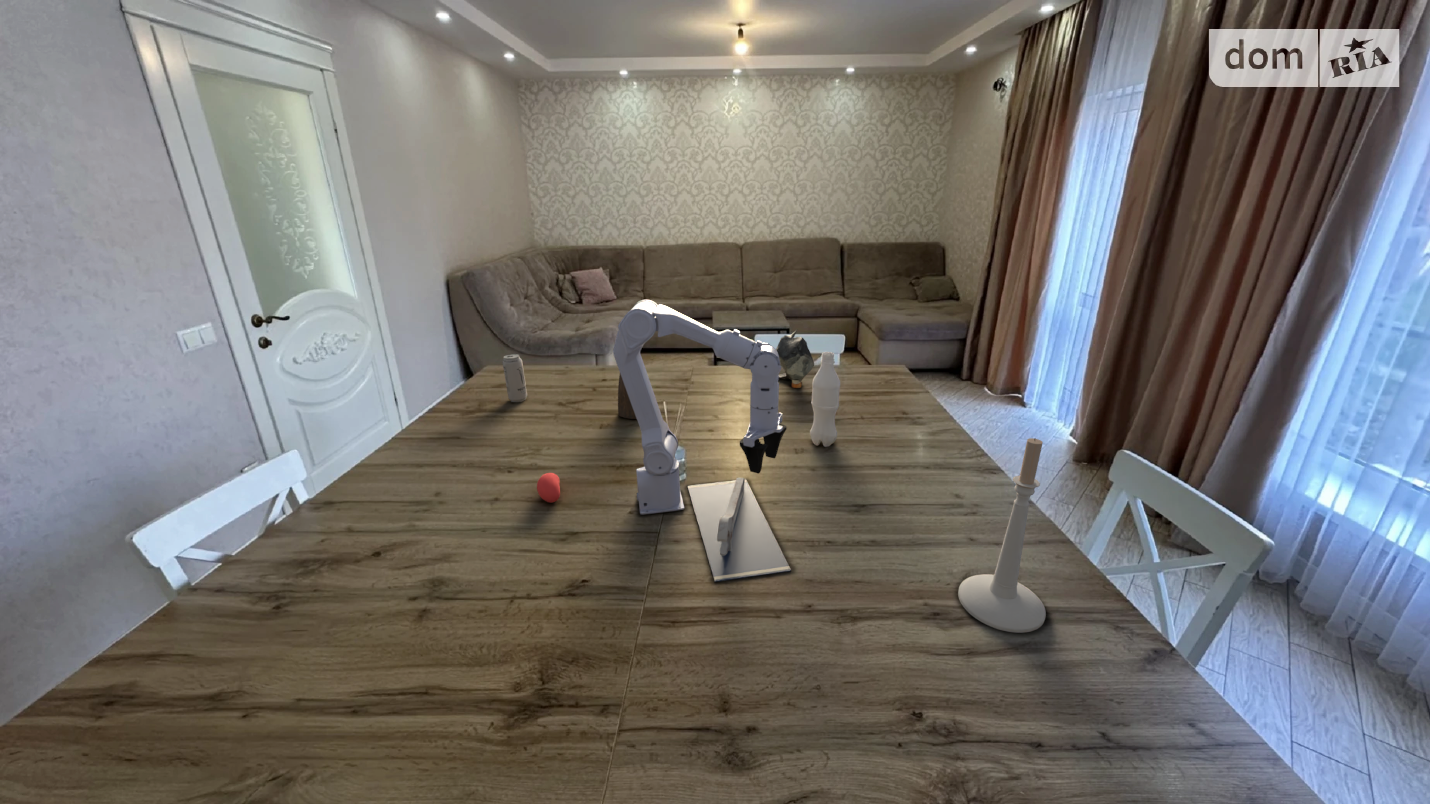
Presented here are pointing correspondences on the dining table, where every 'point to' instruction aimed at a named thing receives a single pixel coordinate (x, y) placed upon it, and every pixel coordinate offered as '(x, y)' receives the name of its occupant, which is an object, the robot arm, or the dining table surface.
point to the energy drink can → (514, 378)
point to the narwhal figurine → (794, 358)
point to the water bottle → (825, 401)
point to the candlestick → (1009, 566)
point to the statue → (624, 402)
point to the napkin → (736, 533)
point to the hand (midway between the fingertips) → (763, 464)
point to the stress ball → (549, 487)
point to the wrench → (730, 518)
